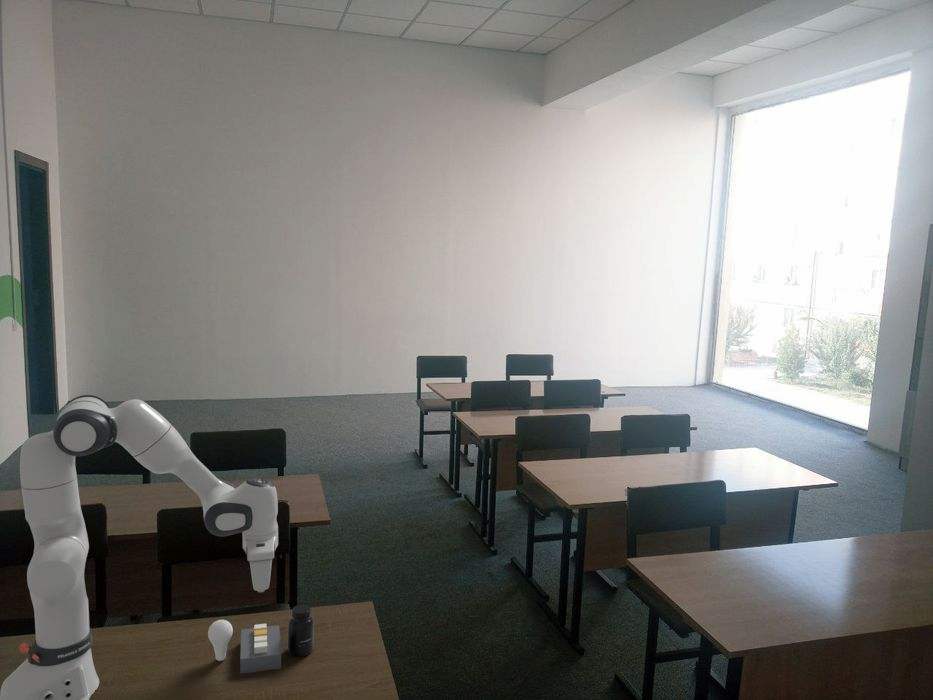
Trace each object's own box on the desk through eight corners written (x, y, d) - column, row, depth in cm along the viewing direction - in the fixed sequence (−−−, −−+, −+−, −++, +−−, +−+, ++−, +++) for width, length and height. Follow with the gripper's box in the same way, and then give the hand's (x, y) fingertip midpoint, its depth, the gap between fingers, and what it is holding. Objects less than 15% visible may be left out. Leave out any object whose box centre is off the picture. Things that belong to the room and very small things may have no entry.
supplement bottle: (306, 660, 184) (306, 617, 183) (282, 655, 186) (282, 613, 184) (318, 645, 191) (318, 605, 189) (295, 641, 193) (295, 600, 191)
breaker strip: (281, 668, 180) (281, 647, 180) (240, 673, 178) (240, 652, 177) (278, 624, 201) (278, 605, 200) (241, 628, 198) (241, 609, 197)
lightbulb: (225, 669, 179) (224, 629, 177) (203, 665, 180) (202, 625, 179) (237, 655, 185) (237, 617, 183) (216, 651, 186) (216, 613, 185)
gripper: (248, 524, 190) (248, 572, 192) (247, 558, 170) (248, 610, 172) (272, 522, 191) (272, 570, 194) (274, 555, 172) (274, 607, 174)
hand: (261, 589), depth 183 cm, fingers closed
